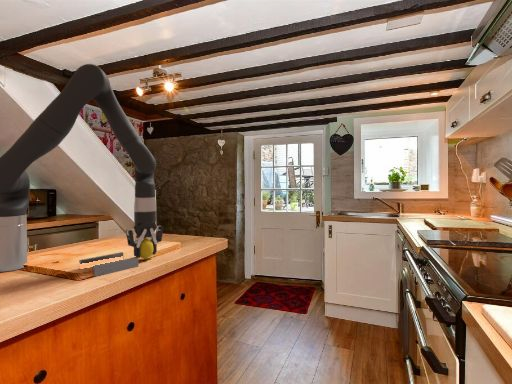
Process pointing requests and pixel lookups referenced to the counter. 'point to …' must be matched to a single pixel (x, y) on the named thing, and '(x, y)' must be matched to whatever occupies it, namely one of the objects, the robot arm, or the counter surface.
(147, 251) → the lemon
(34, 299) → the counter surface
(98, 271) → the guide channel
